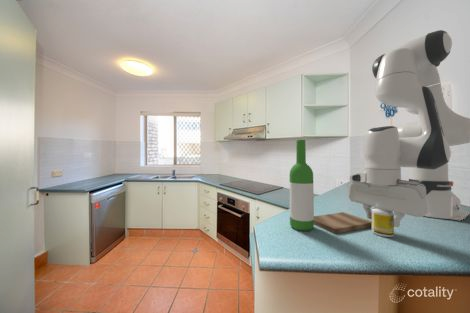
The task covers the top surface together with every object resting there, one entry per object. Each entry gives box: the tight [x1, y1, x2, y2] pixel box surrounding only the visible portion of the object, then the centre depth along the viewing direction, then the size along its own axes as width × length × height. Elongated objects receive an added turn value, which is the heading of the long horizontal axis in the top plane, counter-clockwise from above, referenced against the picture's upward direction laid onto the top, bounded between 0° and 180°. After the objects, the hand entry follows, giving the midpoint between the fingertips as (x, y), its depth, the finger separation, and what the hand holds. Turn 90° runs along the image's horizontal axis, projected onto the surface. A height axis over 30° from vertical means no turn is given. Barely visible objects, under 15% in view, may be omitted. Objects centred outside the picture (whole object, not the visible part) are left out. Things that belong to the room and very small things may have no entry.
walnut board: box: [314, 211, 372, 235], centre depth 65 cm, size 18×12×2 cm, turn 109°
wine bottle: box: [289, 139, 315, 232], centre depth 62 cm, size 8×8×30 cm
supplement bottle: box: [371, 203, 395, 238], centre depth 56 cm, size 5×5×10 cm
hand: (382, 222), depth 56 cm, fingers closed on supplement bottle, 5 cm apart
